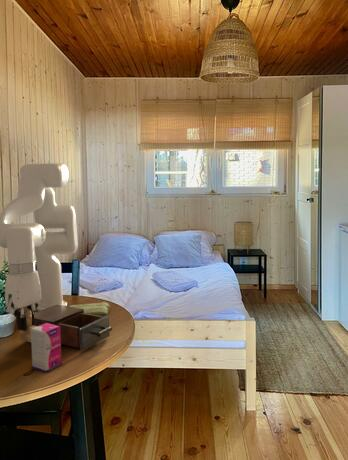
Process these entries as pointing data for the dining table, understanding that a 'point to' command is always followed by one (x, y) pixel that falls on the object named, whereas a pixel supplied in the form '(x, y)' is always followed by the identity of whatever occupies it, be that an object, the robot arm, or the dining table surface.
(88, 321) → the drawer
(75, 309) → the cabinet
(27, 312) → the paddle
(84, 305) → the washcloth
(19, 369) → the dining table surface
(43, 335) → the supplement box
